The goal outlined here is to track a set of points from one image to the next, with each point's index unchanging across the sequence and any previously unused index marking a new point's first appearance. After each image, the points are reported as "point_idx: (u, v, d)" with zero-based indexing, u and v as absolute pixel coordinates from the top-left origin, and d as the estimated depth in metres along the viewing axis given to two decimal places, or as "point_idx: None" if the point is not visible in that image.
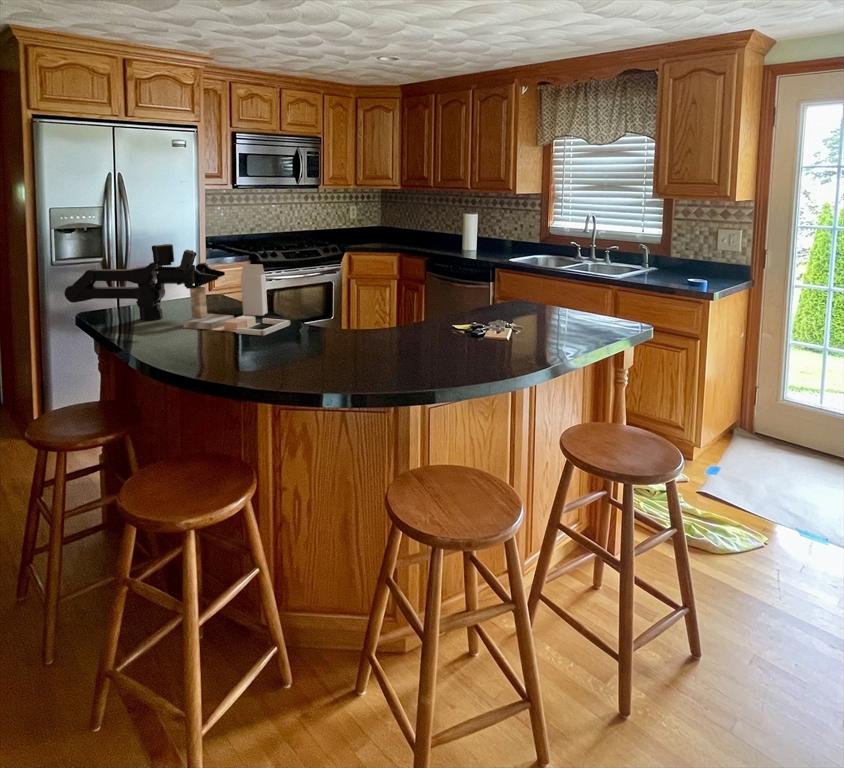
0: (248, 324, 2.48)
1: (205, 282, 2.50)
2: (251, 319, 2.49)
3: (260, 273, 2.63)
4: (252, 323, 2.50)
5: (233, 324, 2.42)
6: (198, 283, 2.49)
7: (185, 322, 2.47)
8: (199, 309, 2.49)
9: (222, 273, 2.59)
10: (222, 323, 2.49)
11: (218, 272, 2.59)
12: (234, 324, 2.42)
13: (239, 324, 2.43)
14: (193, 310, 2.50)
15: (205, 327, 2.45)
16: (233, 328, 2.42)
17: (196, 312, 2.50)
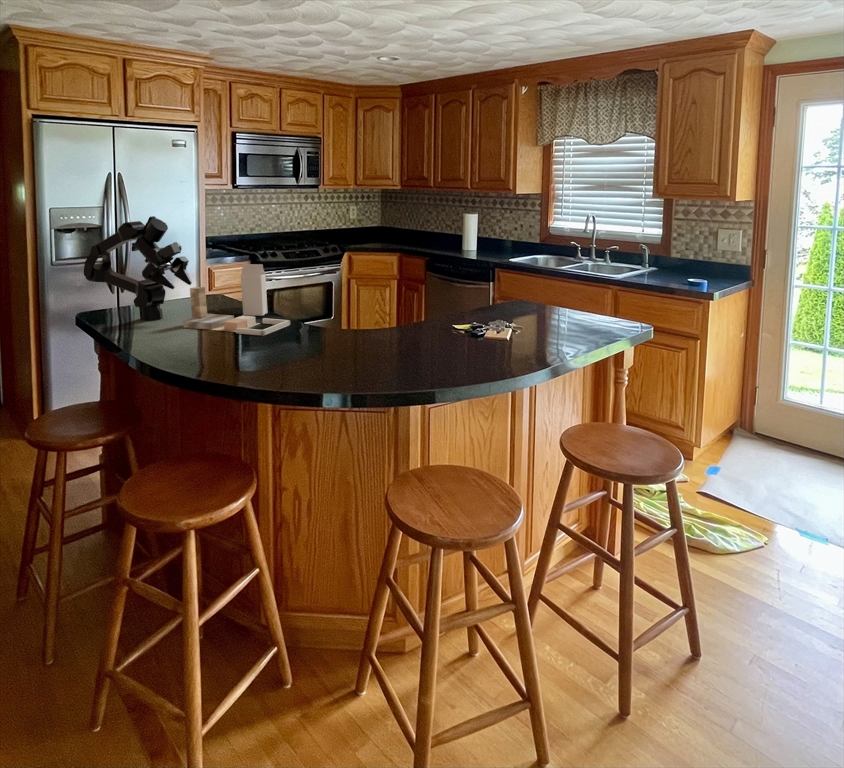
0: (248, 324, 2.48)
1: (161, 283, 2.47)
2: (251, 319, 2.49)
3: (260, 273, 2.63)
4: (252, 323, 2.50)
5: (233, 324, 2.42)
6: (155, 279, 2.46)
7: (185, 322, 2.47)
8: (199, 309, 2.49)
9: (189, 282, 2.55)
10: (222, 323, 2.49)
11: (187, 279, 2.55)
12: (234, 324, 2.42)
13: (239, 324, 2.43)
14: (193, 310, 2.50)
15: (205, 327, 2.45)
16: (233, 328, 2.42)
17: (196, 312, 2.50)
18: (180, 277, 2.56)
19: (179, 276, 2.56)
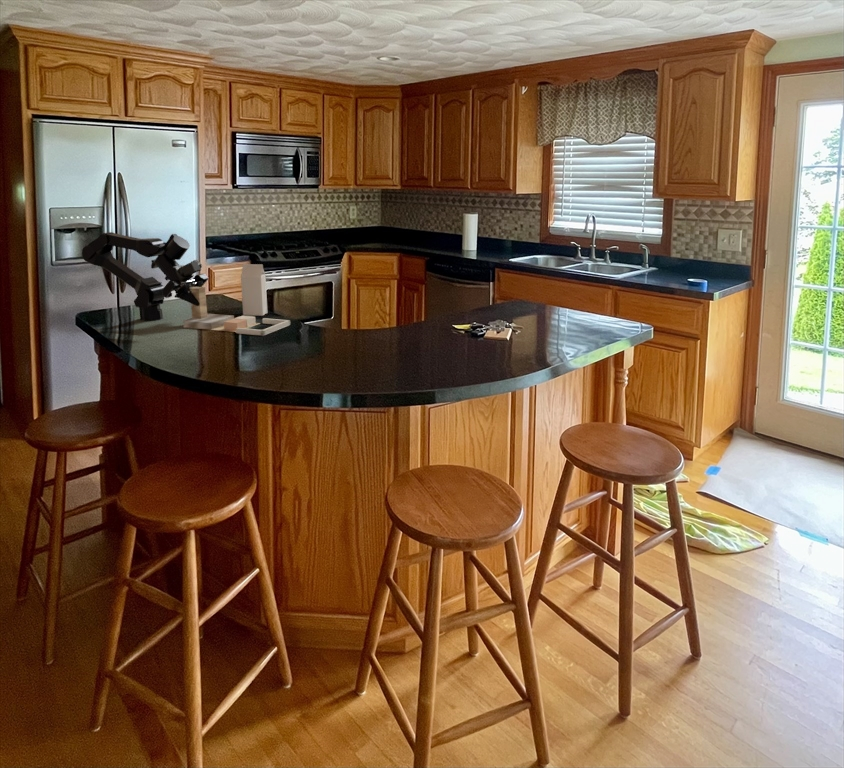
0: (248, 324, 2.48)
1: (186, 300, 2.48)
2: (251, 319, 2.49)
3: (260, 273, 2.63)
4: (252, 323, 2.50)
5: (233, 324, 2.42)
6: (180, 295, 2.48)
7: (185, 322, 2.47)
8: (199, 309, 2.49)
9: None
10: (222, 323, 2.49)
11: None
12: (234, 324, 2.42)
13: (239, 324, 2.43)
14: (193, 310, 2.50)
15: (205, 327, 2.45)
16: (233, 328, 2.42)
17: (196, 312, 2.50)
18: None
19: None
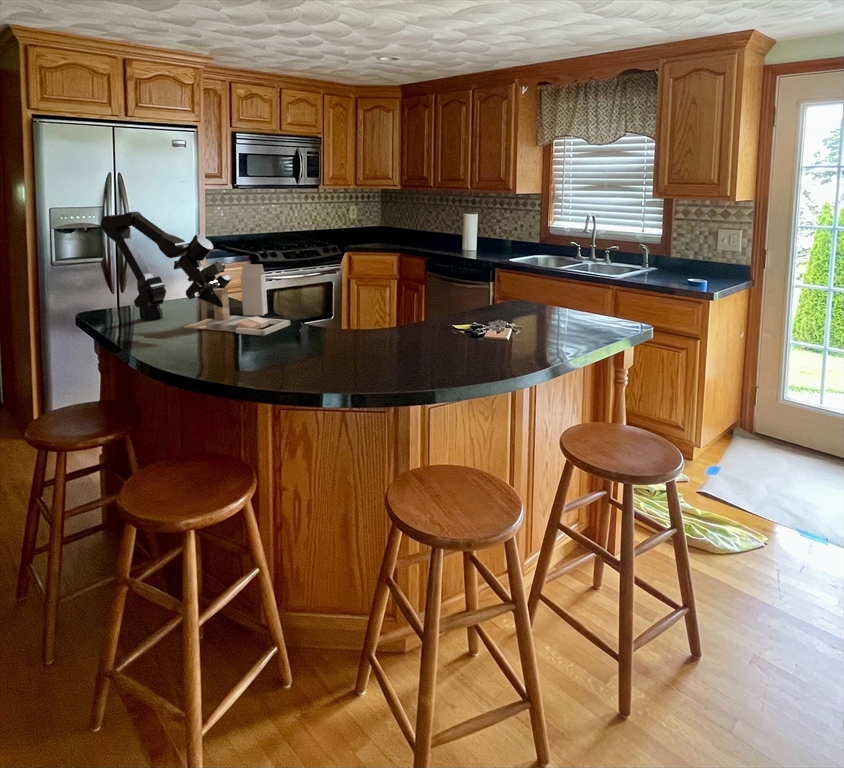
0: None
1: (209, 301, 2.45)
2: (264, 323, 2.48)
3: (260, 273, 2.63)
4: None
5: (247, 327, 2.40)
6: (203, 297, 2.45)
7: (208, 324, 2.44)
8: (222, 311, 2.46)
9: None
10: None
11: None
12: (248, 327, 2.40)
13: (253, 328, 2.42)
14: (216, 312, 2.47)
15: (228, 329, 2.42)
16: None
17: (218, 313, 2.47)
18: None
19: None
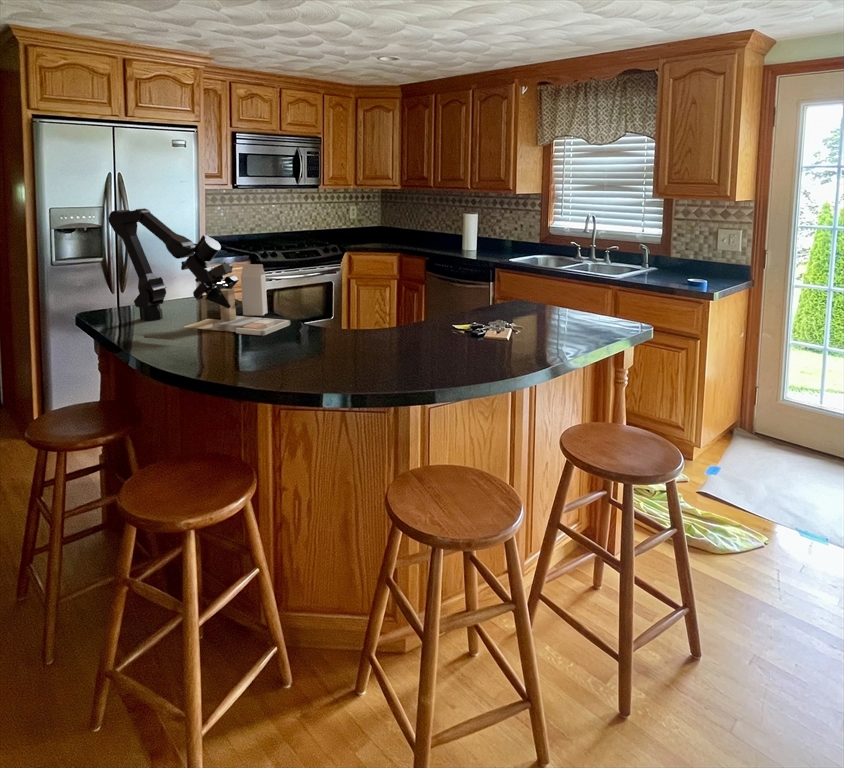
0: None
1: (217, 302, 2.44)
2: (270, 323, 2.47)
3: (260, 273, 2.63)
4: None
5: None
6: (211, 298, 2.44)
7: (214, 325, 2.43)
8: (228, 311, 2.46)
9: None
10: None
11: None
12: None
13: (259, 329, 2.41)
14: (222, 312, 2.47)
15: (235, 330, 2.41)
16: None
17: (225, 314, 2.46)
18: None
19: None
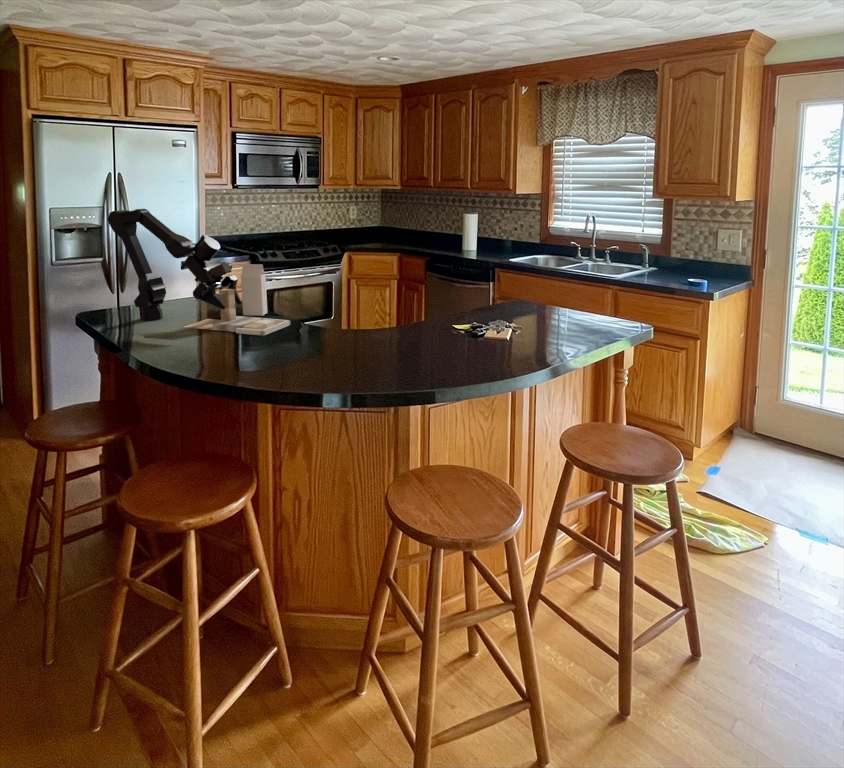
0: None
1: (211, 303, 2.42)
2: (270, 323, 2.47)
3: (260, 273, 2.63)
4: None
5: None
6: (205, 299, 2.42)
7: (214, 325, 2.43)
8: (228, 311, 2.46)
9: (238, 302, 2.50)
10: None
11: (236, 298, 2.51)
12: None
13: (259, 329, 2.41)
14: (222, 312, 2.47)
15: (235, 330, 2.41)
16: None
17: (225, 314, 2.46)
18: None
19: None
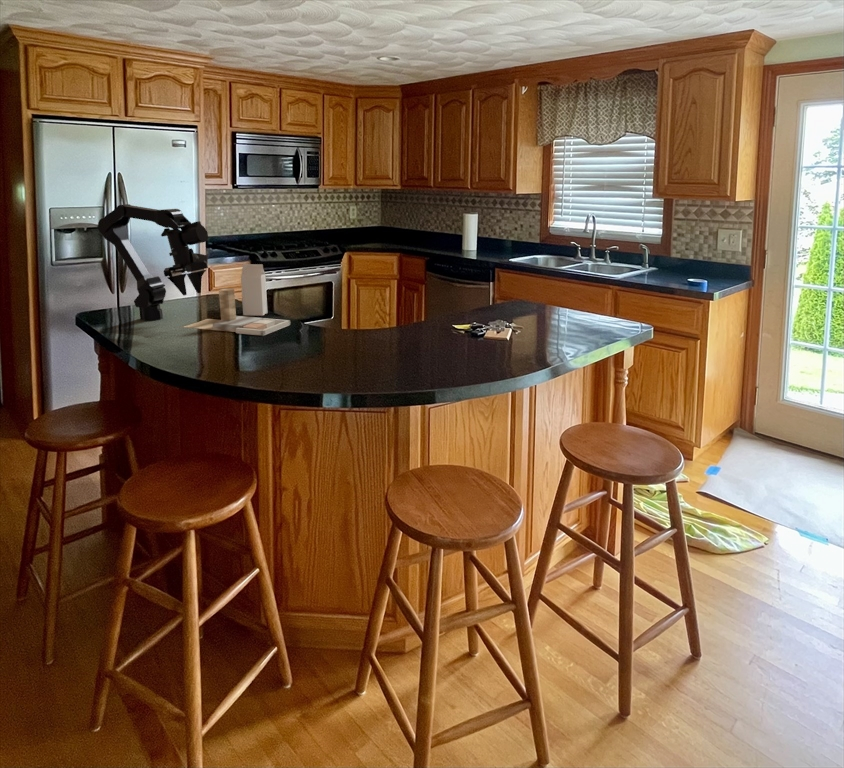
0: None
1: (194, 281, 2.45)
2: (270, 323, 2.47)
3: (260, 273, 2.63)
4: None
5: None
6: (192, 275, 2.44)
7: (214, 325, 2.43)
8: (228, 311, 2.46)
9: (184, 293, 2.54)
10: None
11: (184, 288, 2.54)
12: None
13: (259, 329, 2.41)
14: (222, 312, 2.47)
15: (235, 330, 2.41)
16: None
17: (225, 314, 2.46)
18: (177, 283, 2.52)
19: (176, 282, 2.52)
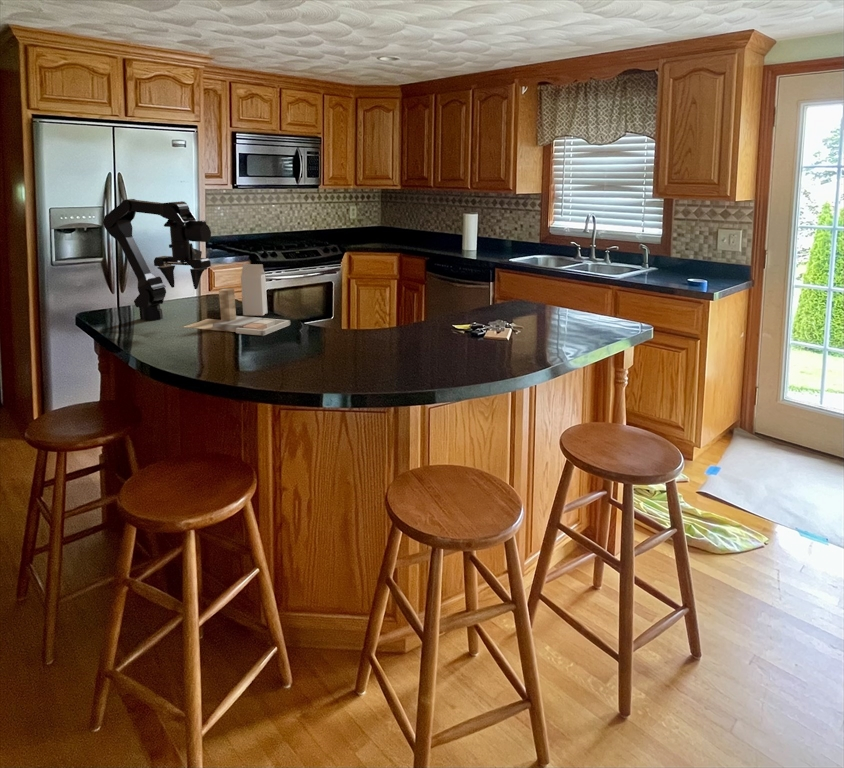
0: None
1: (195, 278, 2.47)
2: (270, 323, 2.47)
3: (260, 273, 2.63)
4: None
5: None
6: (196, 271, 2.46)
7: (214, 325, 2.43)
8: (228, 311, 2.46)
9: (173, 285, 2.53)
10: None
11: (173, 281, 2.53)
12: None
13: (259, 329, 2.41)
14: (222, 312, 2.47)
15: (235, 330, 2.41)
16: None
17: (225, 314, 2.46)
18: (168, 275, 2.50)
19: (168, 273, 2.50)
